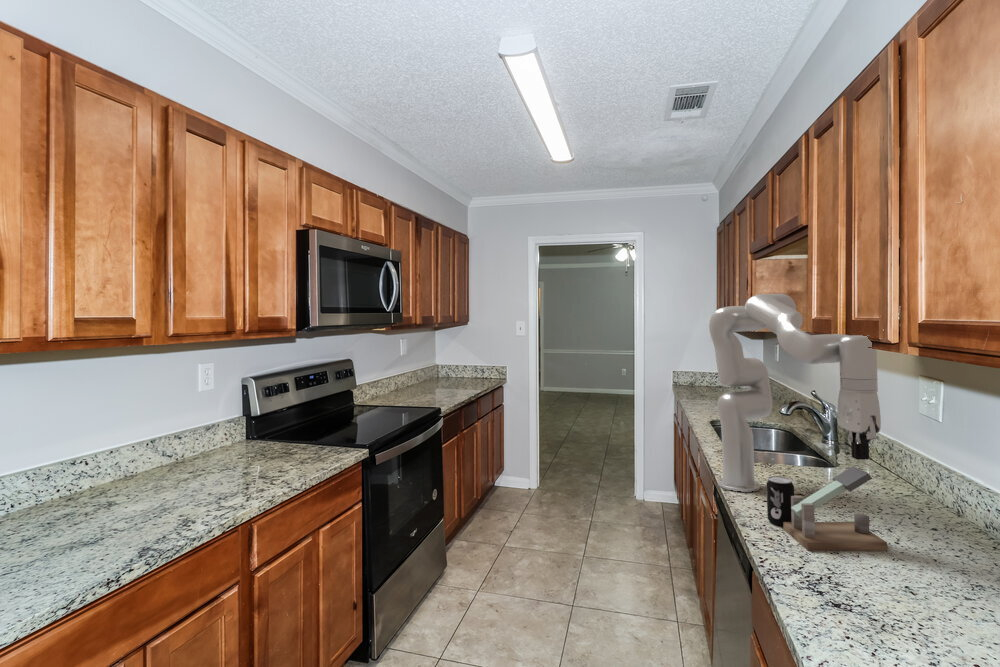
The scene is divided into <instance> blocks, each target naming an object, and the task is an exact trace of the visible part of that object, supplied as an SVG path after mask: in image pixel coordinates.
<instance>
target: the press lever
mask: <svg viewBox="0 0 1000 667" xmlns="http://www.w3.org/2000/svg"><path fill="white" fill-rule="evenodd" d="M831 479H832V480H833V481H832V482H831V483H829V484H827V485H826V486H824V487H822V488H820V489H819V490H816V492H814V493H813V494H810V495H809V496H808V497H806V498H803V500H802V501H801V502H799V503H797V504H796V505H794V506H792V507H791V509H792V510H793V512H794V513H795V514H797V515H798V516H799V517H802V507H801V503H812V504H813V505H814V510H815V509H817V508H818V507H820V506H821V505H824V504H825V503H827V502H829V501H830V500H832V499H834V498H835V497H837V496H838V495H840V494H842V493H844V492H845V491H848V492H850V493H851V492H852V491H854V490H856V489H857V488H860V487H861V486H862V485H864V484H866V483H868V482H869V481H871V480H872V479H873V478H872V476H871V474H870V473H869V472H867V471H866V470H863V469H861V468H859V467H856V466H854V465H852V466H850V467H848V468H847V469H845V470H844V471H842V472H840V473H839V474H837V475H836V476H834V477H832V478H831Z"/></svg>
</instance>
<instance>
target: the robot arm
mask: <svg viewBox="0 0 1000 667" xmlns="http://www.w3.org/2000/svg"><path fill="white" fill-rule="evenodd" d="M796 307H797V306H796V303H795V301H794V299H793V298H792V297H791V296H789V295H788V294H785V293H761V294H760V293H759V294H755V295H753V296H751V297H750V298H748V299H747V300H746V302H745V304H744V305H730V306H725V307H720V308H717V309H716V310H715V311H714V312H712V314H711V316H710V318H709V323H708V324H709V325H708V327H709V329H708V330H709V334H710V338H711V341H712V343H713V346H714V352H715V362H716V368H717V374H718V379H719V382H720V384H721V385H722V386H723V387H726V388H743V387H746V390H737V391H736V390H735V391H729V392H725V393H723V394H721V395H720V397H718V399H717V404H716V406H717V411H718V416H719V421H720V427H721V429H720V430H721V450H722V451H721V452H722V453H721V456H722V458H721V459H722V477H721V478H719V479H718V480H717V484H718V486H719V487H720V488H723V489H724V490H727V491H731V490H733V491H732V492H737V491H741V492H740V493H751V492H752V491H753V492H757V491H759V490H760V489H761V484H760V482H758V481H757V480H755V452H754V451H755V450H754V449H755V448H754V433H753V430H752V428H751V427H750V425H749V422H748V420H755V419H757V420H758V419H763V418H766V417H768V416H770V415H771V412H772V410H773V396H772V390H771V389H772V388H771V382H770V377H769V375H770V374H769V370H768V368H767V366H766V365H765V363H764V362H763V361H762V360H760V359H759V358H756V357H745V355H744V349H743V345H742V342H741V340H739V338H738V336H736V334H735V332H736V333H737V332H757V331H762V330H765V329H767V330H769V331H770V332H772V333H773V334H775V335H776V338H777V341H778V343H779V345H780V347H781V348H782V349H783V351H785V353H787V354H789V355H790V356H792V357H793V358H795V359H796V360H798V361H801V362H803V363H806V364H809V365H817V364H819V365H820V364H832V363H835V364H836V363H839V387H840V388H839V392H838V399H837V408H836V409H837V410H836V412H837V415H836V416H837V418H836V420H837V421H836V422H837V425H838V426H839V427H841V428H842V429H843V430H844V431H846V432H847V433H848V436H849V441H850V442H851V443H850V444H851V446H850V447H851V449H850V450H851V458H852V459H854V460H857V461H858V460H861V461H862V460H869V459H870V444H871V441H872V440H877V438H878V437H877V434H878V433H879V432H880V431H881V429H882V428H881V425H882V424H881V423H882V420H881V419H882V418H881V417H882V416H881V406H880V401H879V396H878V392H879V391H878V390H879V389H878V388H879V387H878V385H879V383H878V351H877V350H878V349H872V348H868V347H872V342H871V341H870V340H869V339H868V337H867V336H868V335H867V336H863V334H862V335H861V334H860V335H859V334H857V335H852V334H851V335H849V334H842V333H831V334H830V333H826V334H809V333H807V332H805V331H803V330H802V329H801V327H802V324H803V322H804V318H803V316H802V314H801V313H800V312H799V311H797V310H796V309H797V308H796Z"/></svg>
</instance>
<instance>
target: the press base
mask: <svg viewBox="0 0 1000 667" xmlns="http://www.w3.org/2000/svg"><path fill="white" fill-rule="evenodd" d="M802 500H804V497H803V496H802V495H794V496H791V507H792V506H794V505H796V504H797V503H799V502H801V501H802ZM801 507H802V517H799V516H798V515H797V514H795V513H794V512H793V510H792V509H791V517H792V522H783V526H782V527H783V531H785V533H787V534H788V535H789V536H790V535H791V536H792V537H791V536H790V537H791V538H793V539H794V541H796V542H797V543H798V542H799V543H800V544H799V543H798V544H799V545H800V546H802V547H803V548H804V549H805V550H806V551H807V550H808V552H810V551H811V552H812V551H813V552H814V551H815V552H820V551H821V552H822V551H823V552H824V551H825V552H827V551H829V552H831V551H832V552H833V551H834V552H835V551H836V552H845V551H846V552H847V551H848V552H851V551H853V552H856V551H857V552H861V551H862V552H868V551H869V552H880V551H881V552H888V542H887V541H885V539H883V538H882V537H880V536H878V535H876V534H875V533H874V532H872V531H871V530H870V516H869V515H868V514H864V513H854V514H853V518H854V521H815V519H816V518H815V509H814V505H813V504H812V503H801Z"/></svg>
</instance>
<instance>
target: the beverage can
mask: <svg viewBox="0 0 1000 667" xmlns="http://www.w3.org/2000/svg"><path fill="white" fill-rule="evenodd" d="M767 479H768V480H767V481H766V510H767V511H766V512H767V513H766V514H767V515H766V516H767V520H768V521H769V522H770V524H772V523H773V525H774V524H775V526H778V527H783V522H792V517H791V496H795V485H794V484H793V480H792V479H791V478H789V477H786V476H782V475H781V476H780V475H771V476H768V477H767Z"/></svg>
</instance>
